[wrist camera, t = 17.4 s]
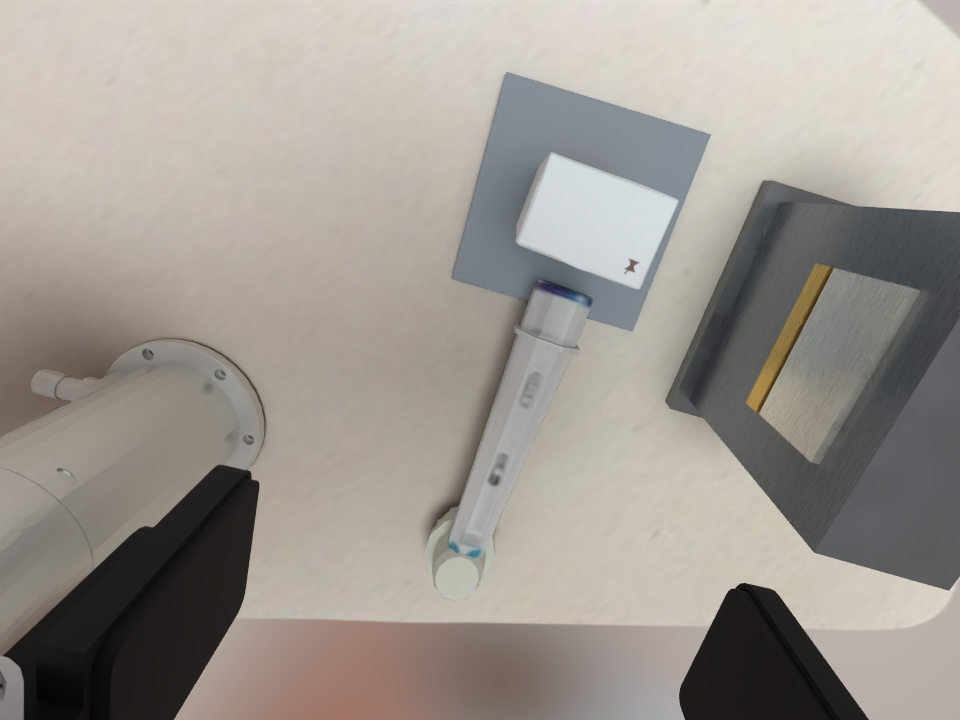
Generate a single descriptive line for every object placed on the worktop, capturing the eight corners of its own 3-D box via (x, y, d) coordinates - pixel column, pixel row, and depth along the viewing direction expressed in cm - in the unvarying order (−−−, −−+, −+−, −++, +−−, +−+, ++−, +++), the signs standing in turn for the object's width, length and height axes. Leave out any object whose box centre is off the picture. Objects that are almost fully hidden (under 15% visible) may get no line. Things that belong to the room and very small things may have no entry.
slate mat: (453, 276, 36) (451, 278, 35) (506, 74, 31) (506, 71, 31) (629, 328, 36) (632, 331, 35) (706, 135, 32) (710, 134, 31)
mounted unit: (665, 401, 38) (780, 564, 21) (763, 181, 33) (1012, 175, 16) (767, 431, 38) (957, 614, 22) (880, 216, 33) (1242, 247, 16)
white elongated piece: (610, 305, 31) (476, 635, 36) (590, 294, 37) (479, 575, 43) (529, 276, 31) (406, 613, 36) (522, 270, 37) (419, 556, 43)
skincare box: (626, 195, 33) (686, 200, 21) (598, 259, 34) (641, 295, 23) (537, 161, 32) (550, 148, 21) (513, 226, 34) (512, 247, 22)
